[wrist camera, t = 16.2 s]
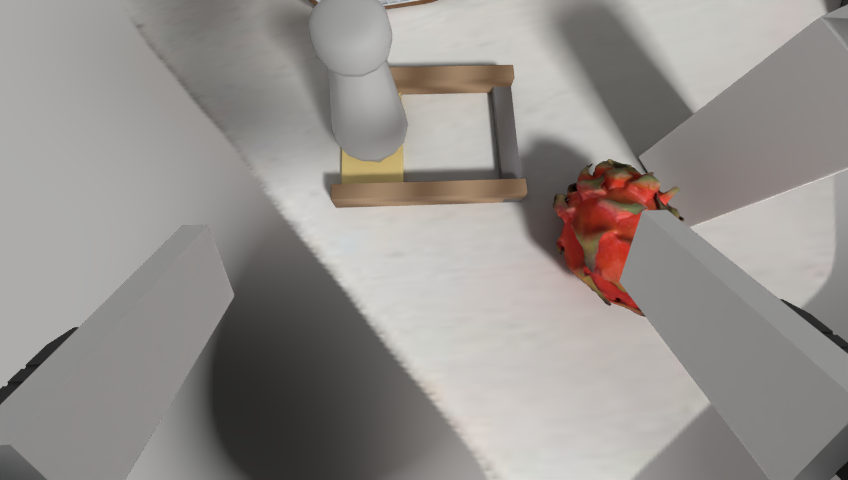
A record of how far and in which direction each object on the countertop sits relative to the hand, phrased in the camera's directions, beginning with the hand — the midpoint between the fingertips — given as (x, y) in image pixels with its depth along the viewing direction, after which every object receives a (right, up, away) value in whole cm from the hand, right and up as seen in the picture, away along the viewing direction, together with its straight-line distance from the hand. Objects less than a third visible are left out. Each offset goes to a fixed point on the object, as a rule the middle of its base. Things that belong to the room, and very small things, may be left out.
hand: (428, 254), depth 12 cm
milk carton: (+23, +6, +20) cm, 31 cm away
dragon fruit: (+14, 0, +19) cm, 23 cm away
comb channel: (0, +9, +20) cm, 22 cm away
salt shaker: (-4, +9, +20) cm, 22 cm away
